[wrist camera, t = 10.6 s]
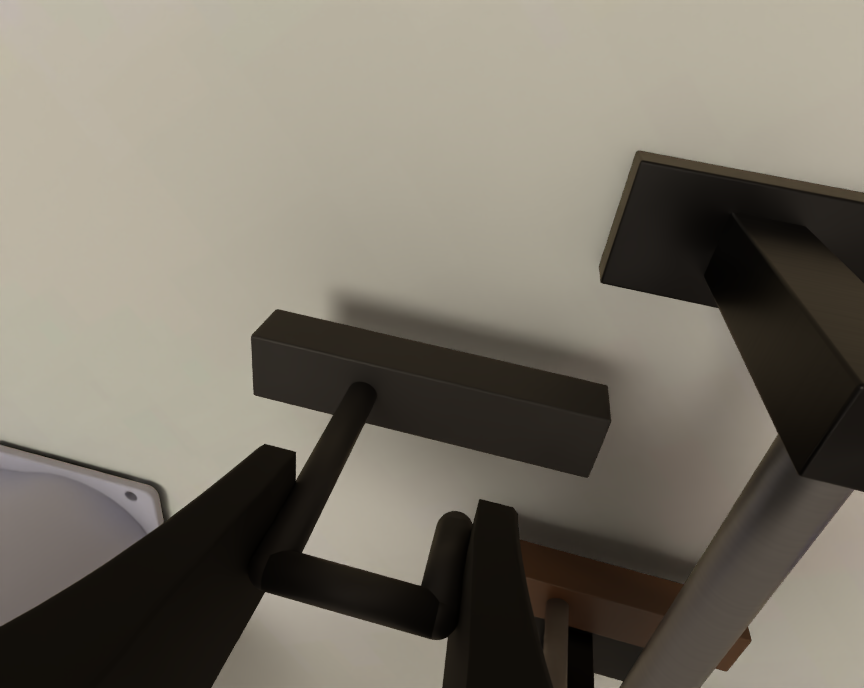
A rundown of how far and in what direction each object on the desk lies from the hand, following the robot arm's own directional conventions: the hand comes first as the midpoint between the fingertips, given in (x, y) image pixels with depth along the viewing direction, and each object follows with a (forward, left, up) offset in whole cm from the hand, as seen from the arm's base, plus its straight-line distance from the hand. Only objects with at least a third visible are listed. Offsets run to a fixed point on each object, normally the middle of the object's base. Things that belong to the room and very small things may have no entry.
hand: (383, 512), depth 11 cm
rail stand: (+7, -4, -7) cm, 10 cm away
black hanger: (0, 0, -5) cm, 5 cm away
